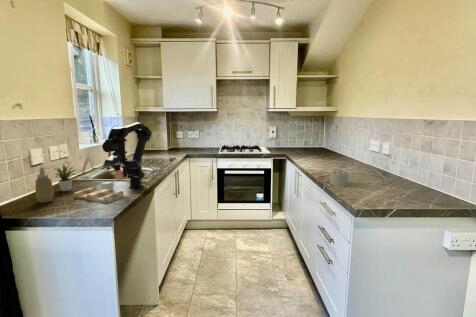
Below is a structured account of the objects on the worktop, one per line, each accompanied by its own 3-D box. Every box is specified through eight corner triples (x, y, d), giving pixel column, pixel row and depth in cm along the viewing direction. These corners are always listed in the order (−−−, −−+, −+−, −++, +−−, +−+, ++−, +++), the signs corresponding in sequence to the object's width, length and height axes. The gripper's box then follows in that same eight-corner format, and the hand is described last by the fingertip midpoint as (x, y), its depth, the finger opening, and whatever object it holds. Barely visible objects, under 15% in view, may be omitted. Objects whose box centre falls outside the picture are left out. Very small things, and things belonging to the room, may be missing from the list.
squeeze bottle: (39, 200, 147) (35, 166, 144) (56, 198, 150) (53, 165, 147) (34, 204, 140) (29, 169, 137) (52, 202, 143) (48, 168, 140)
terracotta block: (121, 177, 161) (121, 169, 160) (127, 178, 159) (127, 169, 158) (115, 179, 157) (115, 170, 156) (121, 180, 155) (121, 171, 154)
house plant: (65, 194, 157) (62, 166, 154) (45, 193, 160) (42, 165, 157) (84, 188, 171) (81, 162, 168) (65, 186, 173) (62, 161, 171)
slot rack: (93, 192, 162) (93, 187, 161) (123, 196, 153) (123, 191, 152) (74, 197, 151) (74, 192, 150) (105, 203, 142) (105, 197, 141)
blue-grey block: (107, 189, 167) (107, 181, 166) (113, 190, 165) (112, 182, 164) (101, 191, 163) (100, 183, 162) (107, 192, 161) (106, 184, 160)
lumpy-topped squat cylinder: (343, 181, 186) (344, 169, 185) (350, 186, 173) (351, 173, 172) (328, 181, 187) (328, 168, 185) (333, 186, 174) (334, 173, 172)
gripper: (95, 150, 152) (97, 178, 154) (121, 152, 144) (123, 181, 147) (111, 148, 162) (113, 174, 164) (136, 150, 155) (138, 177, 157)
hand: (121, 177), depth 158 cm, fingers closed on terracotta block, 4 cm apart
